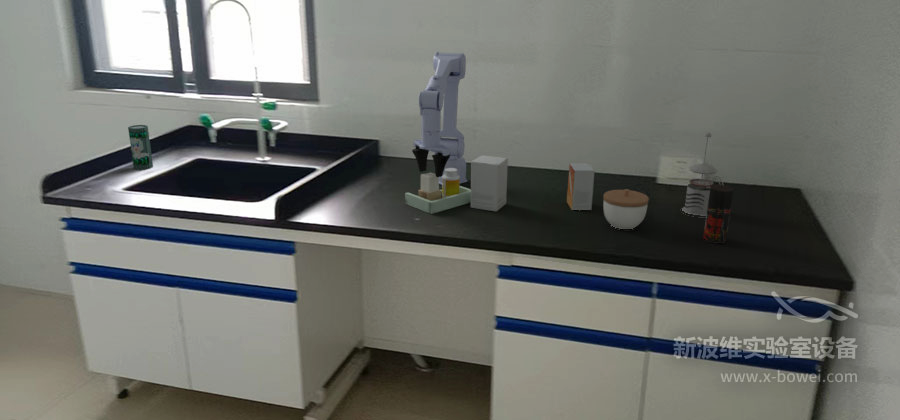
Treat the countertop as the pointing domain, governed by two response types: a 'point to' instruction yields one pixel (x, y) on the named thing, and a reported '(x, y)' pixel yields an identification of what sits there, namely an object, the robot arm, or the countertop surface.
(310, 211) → the countertop surface
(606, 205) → the lidded bowl
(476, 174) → the supplement box
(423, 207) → the tray
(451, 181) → the supplement bottle
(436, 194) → the oak block
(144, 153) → the can
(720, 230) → the deodorant
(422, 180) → the cream box
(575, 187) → the small box
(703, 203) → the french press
